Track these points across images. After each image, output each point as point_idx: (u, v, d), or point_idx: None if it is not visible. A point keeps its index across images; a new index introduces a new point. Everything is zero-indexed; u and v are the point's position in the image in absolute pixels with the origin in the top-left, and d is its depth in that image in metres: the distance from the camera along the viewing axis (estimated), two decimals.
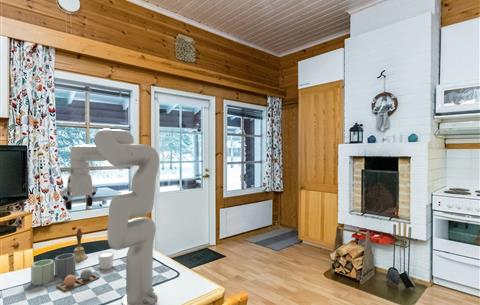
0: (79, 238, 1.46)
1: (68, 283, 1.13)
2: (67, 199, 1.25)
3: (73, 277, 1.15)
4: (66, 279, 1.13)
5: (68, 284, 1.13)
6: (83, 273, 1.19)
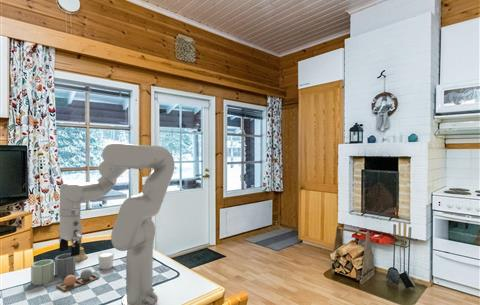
0: None
1: (68, 283, 1.13)
2: (79, 243, 1.13)
3: (73, 277, 1.15)
4: (66, 279, 1.13)
5: (68, 284, 1.13)
6: (83, 273, 1.19)
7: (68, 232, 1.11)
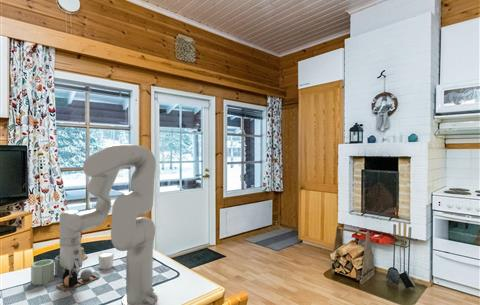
0: None
1: (68, 283, 1.13)
2: (77, 274, 1.14)
3: None
4: (66, 279, 1.13)
5: (68, 284, 1.13)
6: (83, 273, 1.19)
7: (68, 261, 1.11)
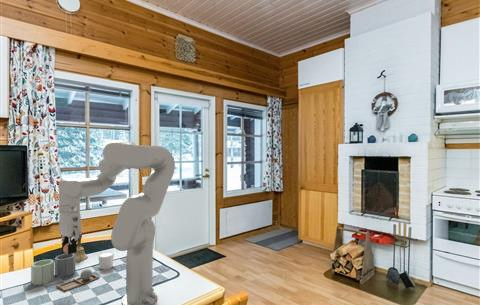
0: (79, 238, 1.46)
1: None
2: (76, 241, 1.14)
3: None
4: (65, 246, 1.14)
5: (67, 251, 1.13)
6: (83, 273, 1.19)
7: (68, 228, 1.11)
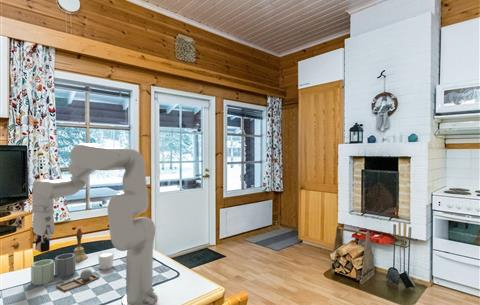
0: (79, 238, 1.46)
1: (40, 248, 1.18)
2: (49, 240, 1.19)
3: None
4: (38, 245, 1.18)
5: (40, 249, 1.18)
6: (83, 273, 1.19)
7: (40, 227, 1.16)
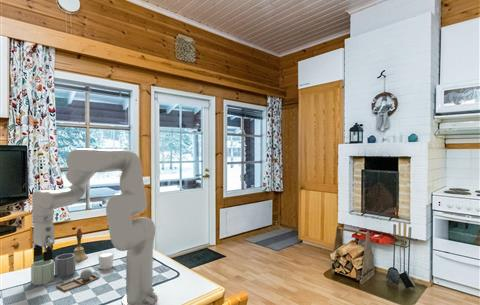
0: (79, 238, 1.46)
1: None
2: (51, 248, 1.17)
3: None
4: None
5: None
6: (83, 273, 1.19)
7: (40, 238, 1.16)
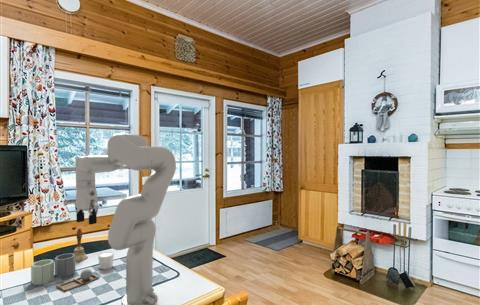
0: (79, 238, 1.46)
1: None
2: None
3: None
4: None
5: None
6: (83, 273, 1.19)
7: (85, 202, 1.19)
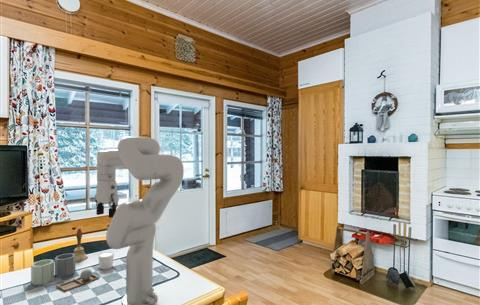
0: (79, 238, 1.46)
1: None
2: None
3: None
4: None
5: None
6: (83, 273, 1.19)
7: (106, 195, 1.20)
